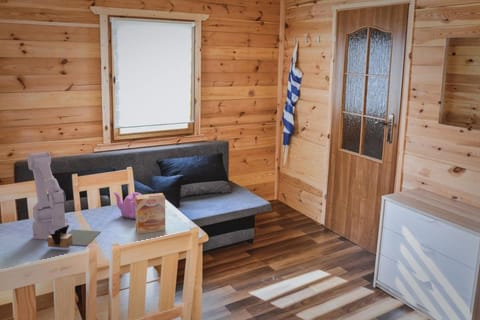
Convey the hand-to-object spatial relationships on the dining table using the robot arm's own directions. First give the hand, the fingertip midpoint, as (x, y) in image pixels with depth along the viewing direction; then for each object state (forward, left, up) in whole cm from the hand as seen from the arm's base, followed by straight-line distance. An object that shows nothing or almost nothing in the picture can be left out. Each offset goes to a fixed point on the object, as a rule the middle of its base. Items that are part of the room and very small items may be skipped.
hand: (60, 242), depth 227 cm
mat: (+3, +14, -4) cm, 15 cm away
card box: (0, 0, -2) cm, 2 cm away
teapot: (+19, +50, -4) cm, 54 cm away
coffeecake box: (+36, +30, -4) cm, 47 cm away
